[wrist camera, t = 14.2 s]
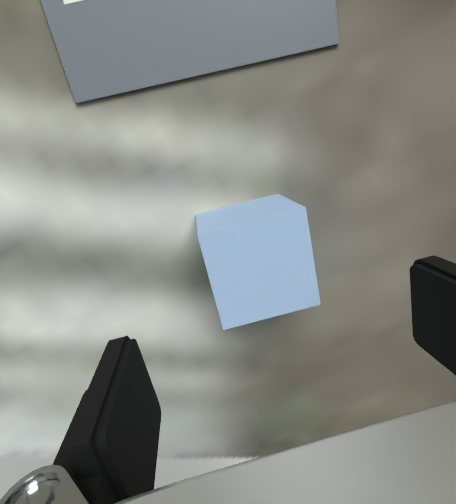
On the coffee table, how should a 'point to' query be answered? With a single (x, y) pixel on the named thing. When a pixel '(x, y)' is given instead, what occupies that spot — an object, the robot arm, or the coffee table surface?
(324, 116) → the coffee table surface
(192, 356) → the coffee table surface
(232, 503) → the robot arm
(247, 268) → the blue cube
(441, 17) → the coffee table surface
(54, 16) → the letter card
